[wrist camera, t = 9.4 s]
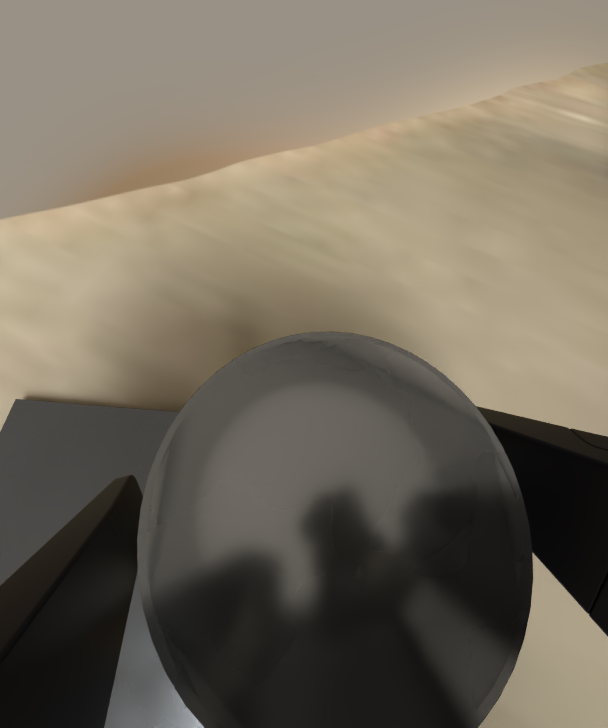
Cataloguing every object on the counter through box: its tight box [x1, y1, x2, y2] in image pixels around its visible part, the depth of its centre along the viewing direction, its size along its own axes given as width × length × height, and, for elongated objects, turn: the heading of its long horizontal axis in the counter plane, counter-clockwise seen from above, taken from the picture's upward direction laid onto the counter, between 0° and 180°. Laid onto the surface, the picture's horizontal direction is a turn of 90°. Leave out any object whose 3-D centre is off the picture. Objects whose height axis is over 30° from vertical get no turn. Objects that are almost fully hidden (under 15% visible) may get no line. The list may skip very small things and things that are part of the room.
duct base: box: [0, 399, 204, 728], centre depth 13 cm, size 19×24×3 cm
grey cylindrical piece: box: [137, 332, 533, 728], centre depth 10 cm, size 5×5×13 cm
